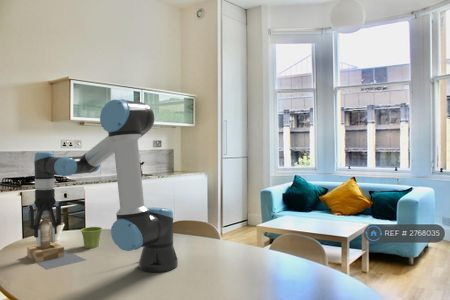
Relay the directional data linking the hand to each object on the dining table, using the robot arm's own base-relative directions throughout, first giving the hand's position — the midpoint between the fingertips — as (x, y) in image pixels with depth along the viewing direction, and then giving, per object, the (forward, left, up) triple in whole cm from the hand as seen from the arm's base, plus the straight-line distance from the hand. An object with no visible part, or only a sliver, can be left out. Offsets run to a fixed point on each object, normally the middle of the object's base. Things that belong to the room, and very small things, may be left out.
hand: (45, 243), depth 162 cm
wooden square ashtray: (0, 0, -6) cm, 6 cm away
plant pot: (+1, -21, -6) cm, 22 cm away
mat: (-5, -2, -6) cm, 8 cm away
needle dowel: (0, 0, -6) cm, 6 cm away
